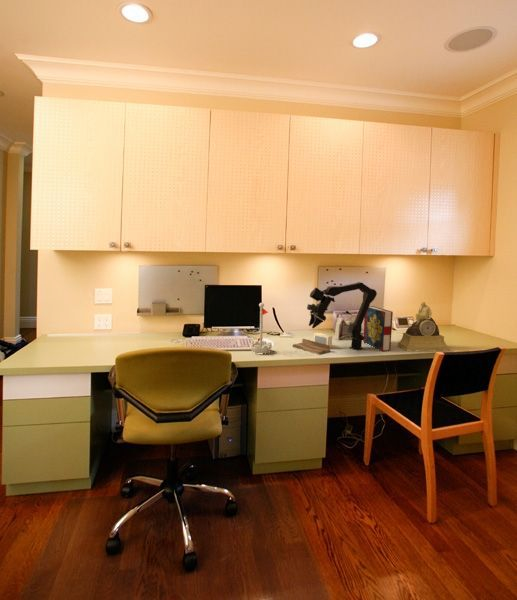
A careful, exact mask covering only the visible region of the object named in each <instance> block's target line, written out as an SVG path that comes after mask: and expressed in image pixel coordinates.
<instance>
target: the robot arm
mask: <svg viewBox="0 0 517 600" xmlns="http://www.w3.org/2000/svg"><path fill="white" fill-rule="evenodd" d="M355 290H356V291H357V290H359V291H360V292H361V293H363V294H362V302H361V305H360V307H359V310H358V312H357V315H356V316H355V320H354V321H353V324H351V323H350V325H349V328H348V333H349V335H350V336H349V337H350V338H351V345H350V347H349V349H351V348H353V349H352V350H355V349H360V350H363V349H362V348H363V347H362V345H363V339H364V336H363V335H364V334H363V335H362V331H363V330H362V329H363V328H362V324H363V323H364V318H365V315H366V312H367V310H368V308H369V306H371V304H372V303H373V302H374V300H375V299H376V297H377V295H378V293H377V291H376V289H373V288H370V287H369V286H368V285H366V284H364V282H361V281H360V282H359V281H358V282H355V283H349V284H345V285H339V286H337V285H329V286H327V287H326V289H323V290H321V289H319V288H318V287H315V288H314V289H312V291H310V294H309V297H310V298H311V299H313V300H315V301H316V302H319V303H318V304H317V303H316V304H314V303H312V304H310V303H307V306H306V310H308V311H310V312H309V315H310V319H309V322H308V326H309V327H311V328H312V329H315V328H316V327H318V326H319V325H320V324H322V323H323V322H326V320H327V316H326V315H325V313H326V311H328V310H329V309H328V308H329V306H330V305H331V303H332V302H333V303H335V302H336V300H335V296H338V295H340V294H343V293H348V292H350V291H355Z"/></svg>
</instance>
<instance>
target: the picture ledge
mask: <svg viewBox="0 0 517 600" xmlns="http://www.w3.org/2000/svg"><path fill="white" fill-rule="evenodd" d="M294 347H295V349H297V350H301V349H302V350H301V351H304V352H308V351H309V353H312V354H315V353H316V355H322V353H323V354H326V352H327V353H330V352H331V349H330V345H326V344H322V343H318V342H314V340H310V339H306V338H302V340H301V342H299V343H294V344H292V348H294Z"/></svg>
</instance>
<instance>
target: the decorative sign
mask: <svg viewBox="0 0 517 600" xmlns="http://www.w3.org/2000/svg"><path fill="white" fill-rule="evenodd" d="M336 321H337V322H336V323H335V331H334V332H335V333H334V341H340V340H341V339H342V338H344V337H345V338H346V337H351V336H350V335H349V333H348V328H349V325H350V323H351V324H353V323H354V321H353V320H346V321H345V319H344V318H342V317H339V318H338V319H337V320H336Z"/></svg>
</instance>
